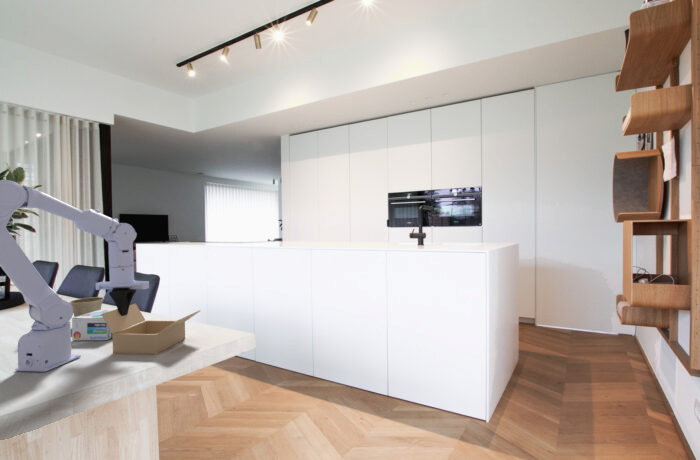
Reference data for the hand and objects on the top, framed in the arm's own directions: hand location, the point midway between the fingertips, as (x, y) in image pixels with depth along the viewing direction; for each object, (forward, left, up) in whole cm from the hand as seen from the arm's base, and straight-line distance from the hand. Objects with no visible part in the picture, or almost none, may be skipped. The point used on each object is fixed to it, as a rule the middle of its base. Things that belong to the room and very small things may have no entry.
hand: (123, 315), depth 99 cm
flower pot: (+17, +27, -8) cm, 33 cm away
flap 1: (0, -1, -1) cm, 1 cm away
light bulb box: (+13, +13, -5) cm, 19 cm away
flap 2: (0, -17, -1) cm, 17 cm away
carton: (0, -8, -8) cm, 11 cm away
